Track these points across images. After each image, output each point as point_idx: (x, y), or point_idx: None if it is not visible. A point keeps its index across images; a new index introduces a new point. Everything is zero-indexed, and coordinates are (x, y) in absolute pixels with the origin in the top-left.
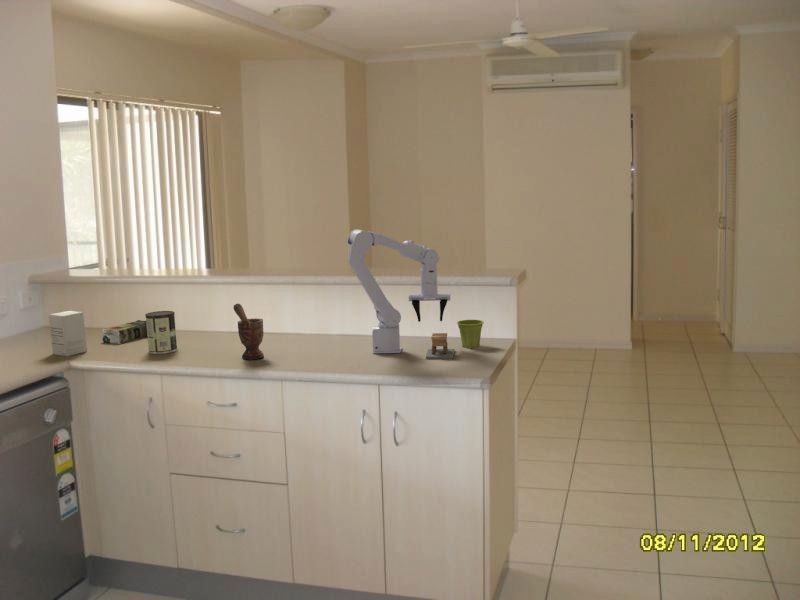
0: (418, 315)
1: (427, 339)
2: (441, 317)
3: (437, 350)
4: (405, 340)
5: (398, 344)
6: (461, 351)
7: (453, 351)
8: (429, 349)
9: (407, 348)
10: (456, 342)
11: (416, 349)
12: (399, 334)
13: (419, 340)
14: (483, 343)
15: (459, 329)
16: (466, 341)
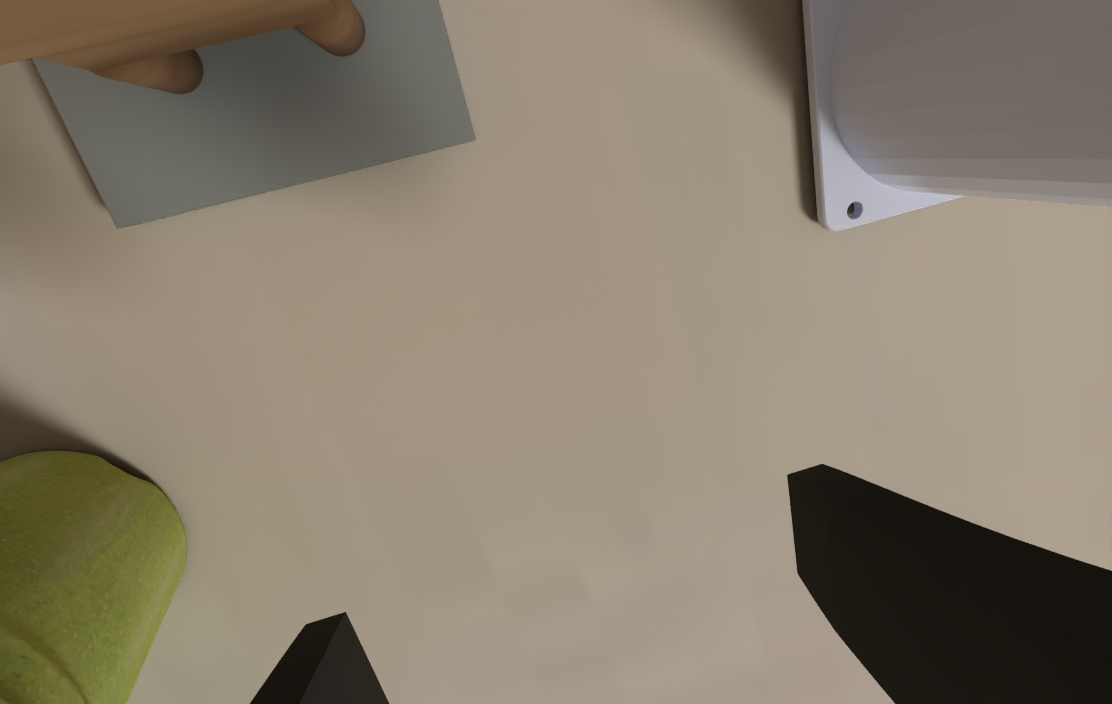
0: (925, 532)
1: (662, 675)
2: (270, 690)
3: (310, 66)
4: None
5: (892, 10)
6: (22, 223)
7: None
8: (451, 119)
9: (762, 264)
10: None
11: (651, 232)
12: (998, 58)
13: (723, 623)
14: None
15: (79, 653)
16: (15, 479)
